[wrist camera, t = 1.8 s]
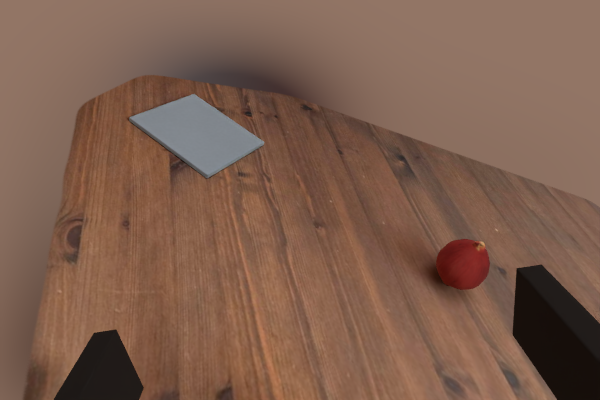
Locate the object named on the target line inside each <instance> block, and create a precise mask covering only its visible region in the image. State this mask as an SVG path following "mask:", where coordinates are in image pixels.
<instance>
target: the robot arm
mask: <svg viewBox="0 0 600 400" xmlns="http://www.w3.org/2000/svg"><path fill="white" fill-rule="evenodd" d="M513 336H514V337H515V339H516V340H517V342H518V343H519V345H520V346H521V347H522V349H523V350H524V352H525V353H526V355H527V356H528V358H529V359H530V361H531V362H532V363H533V365H534V366H535V368H536V369H537V371H538V372H539V374H540V375H541V377H542V378H543V379H544V381H545V382H546V384H547V385H548V387H549V388H550V390H551V391H552V393H553V394H554V395H555V397H556V398H557V400H600V323H599V322H598V321H597V320H596V319H595V318H594V317H593V316H592V315H591V314H590V313H589V312H588V311H587V310H586V309H585V308H584V307H583V306H582V305H581V304H580V303H579V302H578V301H577V300H576V299H575V298H574V297H573V296H572V295H571V294H570V293H569V292H568V291H567V290H566V289H565V288H564V287H563V286H562V285H561V284H560V283H559V282H558V281H557V280H556V279H555V278H554V277H553V276H552V275H551V274H550V273H549V272H548V271H547V270H546V269H545V268H544V267H543V266H542V265H536V266H530V267H523V268H517V274H516V289H515V305H514V320H513ZM143 388H144V387H143V385H142V383H141V381H140V379H139V377H138V375H137V373H136V370H135V368H134V366H133V364H132V362H131V360H130V358H129V356H128V353H127V351H126V349H125V347H124V345H123V343H122V341H121V339H120V336H119V334H118V332H117V330H110V331H103V332H97V333H94V334H93V336H92V337H91V339H90V340H89V342H88V344H87V345H86V347H85V349H84V350H83V352H82V354H81V355H80V357H79V359H78V360H77V362H76V364H75V365H74V367H73V368H72V370H71V372H70V373H69V375H68V377H67V378H66V380H65V382H64V383H63V385H62V387H61V388H60V390H59V392H58V393H57V395H56V397H55V398H54V400H139V398H140V396H141V393H142V391H143Z"/></svg>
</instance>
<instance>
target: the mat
mask: <svg viewBox="0 0 600 400" xmlns="http://www.w3.org/2000/svg"><path fill="white" fill-rule="evenodd" d="M129 121H130V122H131V123H133V124H134V125H135V126H137V127H138V128H140V129H141V130H142V131H144V132H145V133H146V134H148V135H149V136H150V137H152V138H153V139H154V140H156V141H157V142H158V143H160V144H161V145H162V146H164V147H165V148H167V149H168V150H169V151H171V152H172V153H173V154H175V155H176V156H177V157H179V158H180V159H181V160H183V161H184V162H185V163H187V164H188V165H189V166H191V167H192V168H194V169H195V170H196V171H198V172H199V173H200V174H202V175H203V176H204V177H206V178H209V177H211V176H212V175H214V174H216V173H217V172H219V171H221V170H222V169H224V168H226V167H227V166H229V165H231V164H233V163H234V162H236V161H238V160H239V159H241V158H243V157H244V156H246V155H248V154H249V153H251V152H253V151H254V150H256V149H258V148H260V147H261V146H263V145H264V142H263V141H262V140H261V139H259V138H258V137H256V136H255V135H253V134H252V133H250V132H249V131H247V130H246V129H244V128H243V127H242V126H240V125H239V124H237V123H236V122H234V121H233V120H231V119H230V118H228V117H227V116H225V115H224V114H222V113H221V112H220V111H218V110H217V109H215V108H214V107H212V106H211V105H209V104H208V103H206V102H205V101H203V100H202V99H201V98H199V97H198V96H196V95H195V94H192V95H190V96H187V97H184V98H181V99H179V100H176V101H173V102H170V103H168V104H165V105H162V106H159V107H157V108H154V109H151V110H148V111H146V112H143V113H140V114H137V115H135V116H132V117H129Z"/></svg>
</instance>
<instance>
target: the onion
mask: <svg viewBox="0 0 600 400" xmlns="http://www.w3.org/2000/svg"><path fill="white" fill-rule="evenodd" d="M489 266H490V262H489V256H488V252H487V250H486V249H485V244H484V242H482V241H473V240H468V239H461V240H455V241H452V242H450V243H448V244H447V245H446V246H445V247H444V248H443V249H441V250H440V252H439V254H438V256H437V260H436V267H437V271H438V274H439V276H440V277H441V279H442V281H443V283H444V284H445V285H447V286H451V287H454V288H457V289H460V290H465V289H473V288H475V287H477V286H479V285H480V284H481V283H482V282H483V281H484V279H485V278H486V277H487V275H488V272H489Z"/></svg>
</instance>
